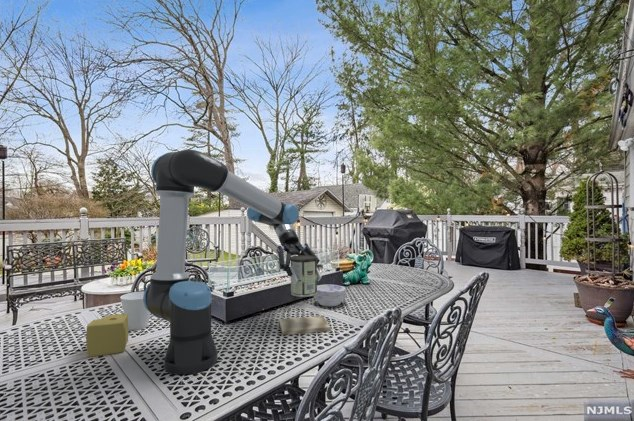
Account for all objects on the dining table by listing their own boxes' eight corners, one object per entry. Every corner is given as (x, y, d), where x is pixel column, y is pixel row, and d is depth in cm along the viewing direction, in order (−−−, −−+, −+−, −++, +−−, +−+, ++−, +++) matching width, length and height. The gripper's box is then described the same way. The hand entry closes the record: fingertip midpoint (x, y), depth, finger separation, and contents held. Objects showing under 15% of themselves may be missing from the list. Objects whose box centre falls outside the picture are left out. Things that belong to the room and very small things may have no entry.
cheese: (94, 345, 116) (93, 316, 116) (130, 340, 120) (129, 312, 120) (85, 358, 106) (85, 326, 106) (125, 353, 110) (124, 322, 110)
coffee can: (300, 288, 140) (300, 254, 139) (322, 292, 134) (322, 256, 134) (285, 294, 131) (284, 257, 131) (307, 298, 126) (307, 260, 125)
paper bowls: (345, 299, 170) (345, 283, 170) (345, 309, 155) (345, 291, 155) (315, 299, 172) (315, 283, 171) (311, 308, 156) (311, 291, 156)
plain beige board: (282, 334, 125) (282, 330, 125) (279, 322, 137) (279, 319, 137) (330, 331, 128) (330, 327, 128) (322, 319, 141) (322, 315, 141)
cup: (123, 335, 125) (123, 301, 125) (117, 326, 134) (117, 294, 134) (158, 327, 132) (158, 295, 132) (150, 319, 142) (150, 289, 141)
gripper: (306, 240, 151) (327, 282, 139) (259, 243, 139) (278, 290, 126) (313, 228, 147) (335, 271, 134) (265, 231, 134) (285, 278, 121)
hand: (308, 280), depth 130 cm, fingers closed on coffee can, 10 cm apart
